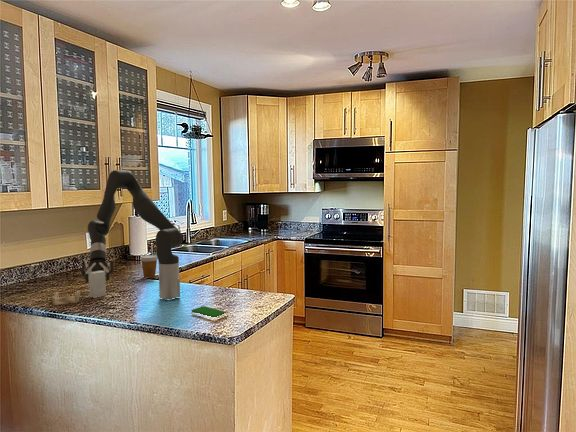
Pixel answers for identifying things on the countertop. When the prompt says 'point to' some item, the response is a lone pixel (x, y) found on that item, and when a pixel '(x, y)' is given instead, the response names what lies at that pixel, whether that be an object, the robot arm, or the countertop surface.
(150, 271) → the disposable coffee cup
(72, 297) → the u-shaped wooden frame
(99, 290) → the skincare box
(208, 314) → the dish sponge
